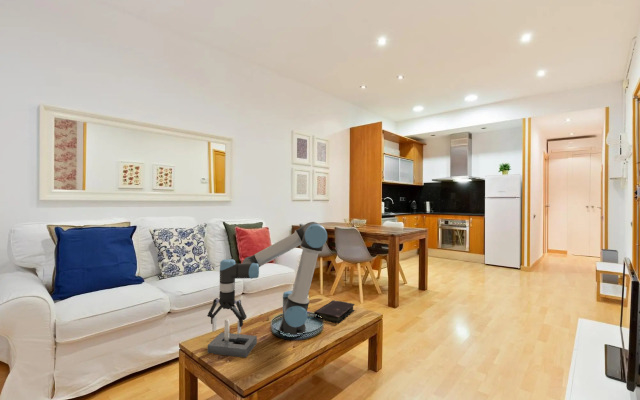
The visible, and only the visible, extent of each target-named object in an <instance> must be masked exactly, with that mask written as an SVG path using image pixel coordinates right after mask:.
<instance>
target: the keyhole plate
mask: <svg viewBox="0 0 640 400" xmlns="http://www.w3.org/2000/svg"><path fill="white" fill-rule="evenodd" d="M257 337H258V335H251V334H250V335H249V334H241V333H239V334H237V333H230V332H229V342H227V341H224V332H223V331H222V332H220V333H219V334H218V335H217V336H216V337H215V338H213V340H211V341H210V342H209V343H207V344H208V345H207V354H210V353H213V354H212V355H220V356H228V357H229V356H230V357H240V358H244V359H245V358H247V357H248V355H249V354H250V353H251V351H252V350H253V349H254V348H255V347H256V345H257V343H258V342H257V341H258V338H257Z"/></svg>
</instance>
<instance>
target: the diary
mask: <svg viewBox="0 0 640 400" xmlns="http://www.w3.org/2000/svg"><path fill="white" fill-rule="evenodd" d="M355 305H356V304H355V303H351V302H346V301H341V300H335V299H334V300H333V299H332V300H331V301H330V302H328V303H326V304H324V305H323V306H322V307H319V308H318V309H317V310H314V312H313V315H314V314H317V315H319V316H321V317H322V318H323V319H322V320H324V321H327V322H331V323H333V324H339V323H342V322H343V321H344V320H345V319H346V318H348V317H349V315H350V314H353V313H354V312H355V309H354V306H355Z"/></svg>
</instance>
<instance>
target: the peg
mask: <svg viewBox="0 0 640 400" xmlns="http://www.w3.org/2000/svg"><path fill="white" fill-rule="evenodd" d="M223 323H224V327H223V328H224V330H223V331H224V332H223V333H224V341H227V342H229V333H230V319H224V322H223Z"/></svg>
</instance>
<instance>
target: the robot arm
mask: <svg viewBox="0 0 640 400" xmlns="http://www.w3.org/2000/svg"><path fill="white" fill-rule="evenodd" d="M327 240H328V232H327V230H326V229H325V227H324V226H323V225H322V224H320V223H318V222H315V221H310V222H306V223H305V224H304V225H302V226H300V227H299V228H297V229H295V230H294V233H292V234H290V235H288V236H286V237H284V238H282V239H280V240H278V241H277V242H275V243H273V244H271V245H270V246H268V247H266V248H264V249H262V250H260V251H258V252H256V253H255V254H253V255H251V256H247V257H245V258H244V259H243V261H242V263H237V262H236V260H235V259H231V258H229V259H228V258H225V259H222V260H221V261H220V262H219V294H218V295H219V296H218V297H219V298H218V297H216V298H214V299H213V302H212V305H211V307H210V308H209V311H208V313H207V315H206V317H208V318H210V324H211V326H212V327H211V328H212V332H215V331H216V330H217V316H216V315H218V313H219V312H220V311H221V310H222V309H223V310H226V309H227V310H230V311H232V313H233V315H235V316H236V318H237V319H238V320H237V333H236V334H241V332H242V327H243V325H244V321H245V320H246V319H247V318H248V317H247V314H246V312H245V309H244V307H243V306H242V300H241V299H238V300H236V297H235V296H236V290H235V289H236V279H237V280H238V279H240V280H241V279H243V280H244V279H257V278H259V275H260V267H263V266H264V265H266V264H268V263H270V262H272V261H273V260H275V259H277V258H279V257H281V256H282V255H284V254H286V253H288V252H290V251H291V250H292V251H293V249H296V248H297V247H299V246H300V247H301V249H302V251H301V256H300V259H299V263H298V267H297V271H296V275H295V278H294V279H295V280H294V283H293V288H292V290H288V291H284V292H283V294H282V317H281V318H282V319H281V322H280V325H279V329H278V331H279V330H280V331H282V332H284V333H290V334H297V333H303V332H305V331H307V330H306V329H307V328H306V321H307V320H308V315H309V314H308V309H309V308H308V307H309V304H310V299H309V298H308V296H309V293H310V290H311V284H312V280H313V277H314V272H315V269H316V264H317V261H318V258H319V256H318V255H319V254H321V253H322V252H323V248H324V245H325V244H326V242H327ZM218 303H219V306H218V307H217V305H218ZM216 307H217V308H216ZM305 333H306V332H305Z"/></svg>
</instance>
